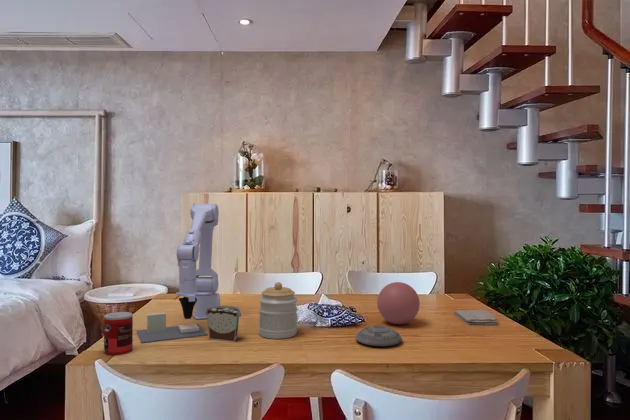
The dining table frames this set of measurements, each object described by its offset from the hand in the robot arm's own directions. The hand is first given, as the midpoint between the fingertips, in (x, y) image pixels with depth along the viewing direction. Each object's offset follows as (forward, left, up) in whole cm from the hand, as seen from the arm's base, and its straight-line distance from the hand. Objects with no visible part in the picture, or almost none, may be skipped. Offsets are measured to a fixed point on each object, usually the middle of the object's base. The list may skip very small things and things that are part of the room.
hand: (187, 318), depth 163 cm
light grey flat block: (0, -2, -3) cm, 4 cm away
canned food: (+23, +13, -5) cm, 27 cm away
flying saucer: (-53, +38, -5) cm, 66 cm away
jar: (-27, +16, -5) cm, 32 cm away
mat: (+6, 0, -4) cm, 7 cm away
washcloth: (-103, +30, -5) cm, 108 cm away
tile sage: (+10, -3, -4) cm, 11 cm away
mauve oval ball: (-73, +20, -5) cm, 76 cm away
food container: (-10, +13, -5) cm, 17 cm away
